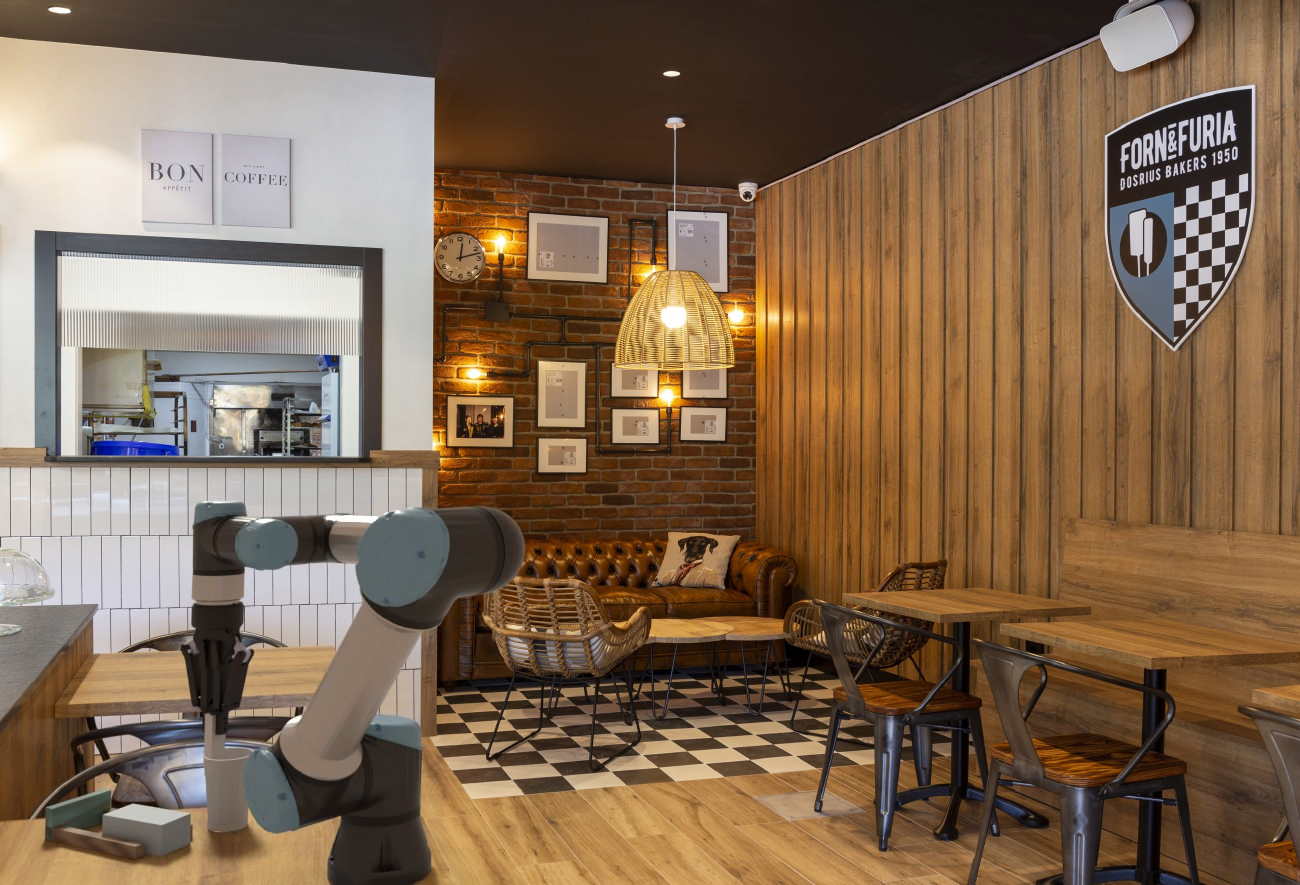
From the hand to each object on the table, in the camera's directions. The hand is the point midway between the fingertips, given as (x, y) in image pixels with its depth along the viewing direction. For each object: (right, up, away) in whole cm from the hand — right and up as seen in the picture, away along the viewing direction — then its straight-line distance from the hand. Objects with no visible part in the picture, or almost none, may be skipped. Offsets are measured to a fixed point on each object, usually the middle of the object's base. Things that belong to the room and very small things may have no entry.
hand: (214, 754), depth 167 cm
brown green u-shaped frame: (-18, -16, +8) cm, 25 cm away
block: (-13, -16, +5) cm, 21 cm away
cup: (-4, -16, +14) cm, 22 cm away
